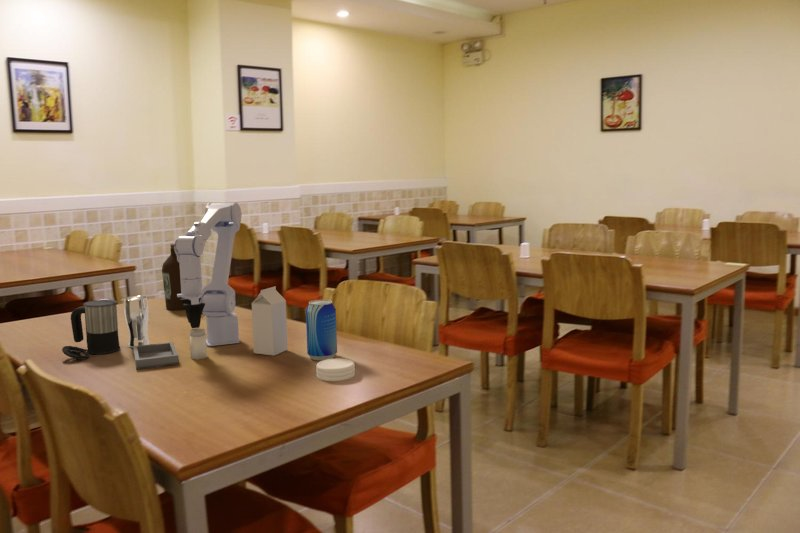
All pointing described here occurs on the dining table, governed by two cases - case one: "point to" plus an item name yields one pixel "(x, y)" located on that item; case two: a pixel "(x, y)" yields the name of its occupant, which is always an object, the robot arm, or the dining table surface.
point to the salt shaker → (198, 343)
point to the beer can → (321, 330)
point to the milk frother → (95, 329)
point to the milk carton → (269, 323)
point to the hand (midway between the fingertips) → (193, 324)
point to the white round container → (335, 369)
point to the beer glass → (137, 319)
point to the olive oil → (172, 281)
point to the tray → (155, 355)
